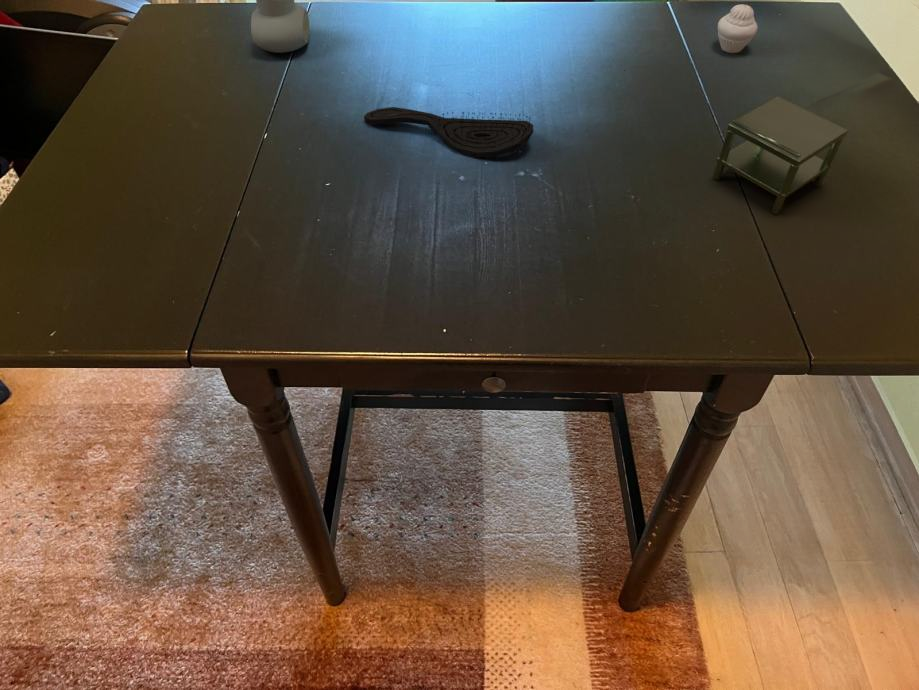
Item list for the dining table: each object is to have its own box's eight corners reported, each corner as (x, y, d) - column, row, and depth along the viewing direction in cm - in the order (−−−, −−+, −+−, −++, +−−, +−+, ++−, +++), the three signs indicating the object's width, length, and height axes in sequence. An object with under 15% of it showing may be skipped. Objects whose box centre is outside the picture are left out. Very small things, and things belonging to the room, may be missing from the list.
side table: (758, 149, 94) (779, 91, 87) (822, 184, 89) (851, 125, 82) (711, 177, 90) (730, 119, 83) (775, 216, 85) (801, 156, 78)
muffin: (758, 51, 111) (773, 7, 106) (732, 61, 109) (745, 17, 104) (730, 35, 115) (742, -8, 109) (703, 45, 113) (715, 2, 107)
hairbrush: (374, 87, 100) (540, 107, 94) (377, 110, 103) (539, 131, 97) (350, 117, 95) (524, 141, 89) (355, 140, 98) (524, 165, 92)
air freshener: (264, 30, 118) (250, -32, 110) (312, 28, 118) (301, -33, 111) (255, 62, 111) (238, -2, 104) (306, 60, 111) (293, -3, 104)
